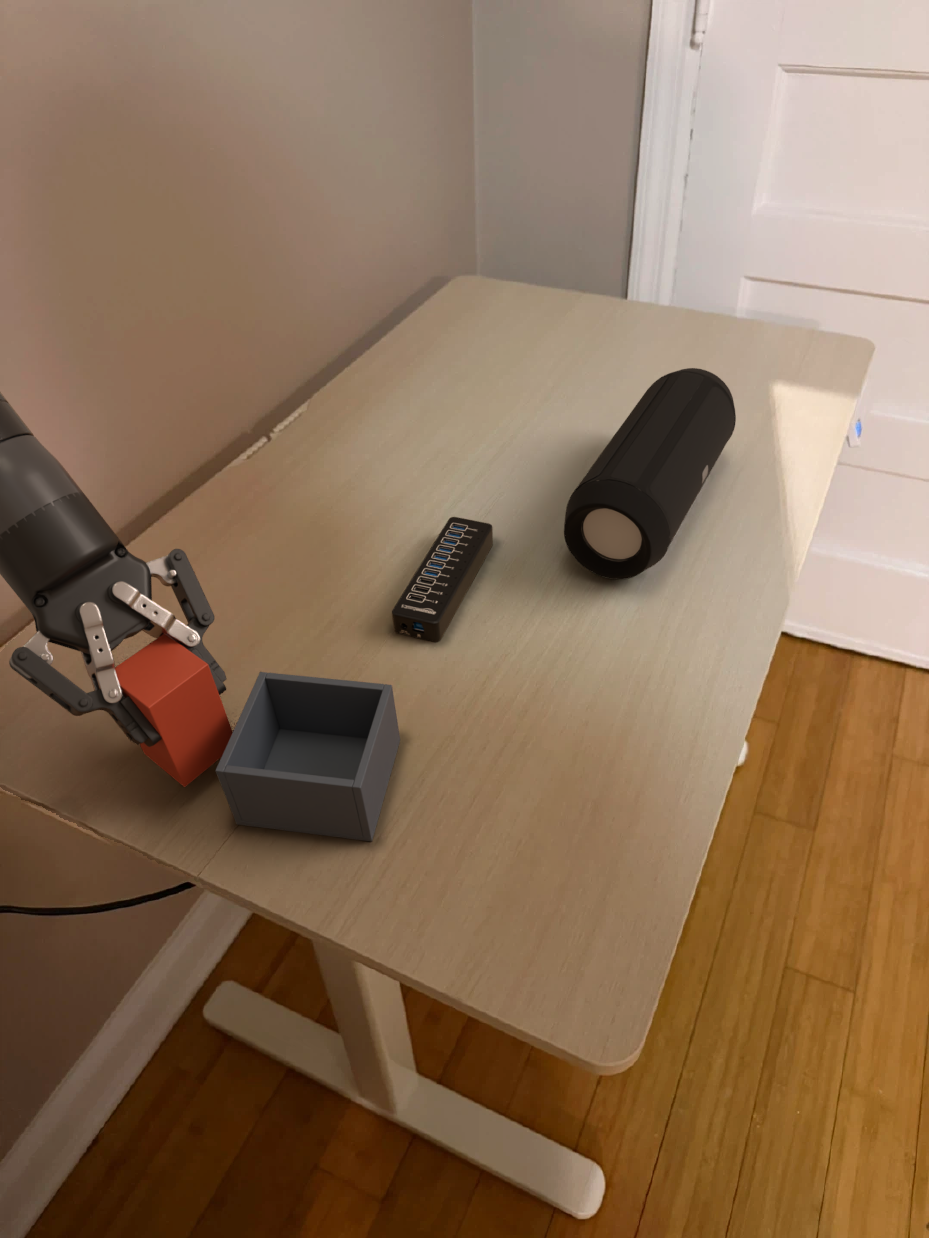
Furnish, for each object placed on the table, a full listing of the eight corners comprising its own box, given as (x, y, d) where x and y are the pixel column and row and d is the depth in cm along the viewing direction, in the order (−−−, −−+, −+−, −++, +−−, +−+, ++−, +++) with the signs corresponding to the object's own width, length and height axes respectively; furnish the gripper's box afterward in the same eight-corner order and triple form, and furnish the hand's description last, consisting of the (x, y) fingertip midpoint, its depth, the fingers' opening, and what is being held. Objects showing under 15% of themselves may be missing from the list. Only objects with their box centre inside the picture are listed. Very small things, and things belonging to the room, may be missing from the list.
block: (143, 753, 67) (104, 673, 61) (196, 713, 70) (164, 632, 64) (184, 787, 65) (148, 708, 58) (237, 744, 67) (208, 663, 61)
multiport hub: (494, 542, 87) (493, 523, 85) (438, 643, 77) (437, 624, 75) (451, 533, 88) (450, 515, 86) (392, 632, 78) (389, 612, 77)
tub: (236, 824, 65) (214, 770, 60) (276, 726, 71) (259, 671, 67) (372, 841, 63) (360, 787, 59) (400, 739, 70) (392, 684, 65)
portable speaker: (654, 601, 80) (667, 511, 73) (552, 570, 83) (555, 482, 76) (733, 455, 96) (750, 370, 89) (645, 434, 99) (654, 351, 92)
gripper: (-68, 561, 53) (112, 781, 56) (132, 451, 61) (282, 650, 63) (-70, 590, 60) (92, 787, 62) (112, 488, 67) (250, 667, 70)
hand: (188, 716), depth 63 cm, fingers closed on block, 5 cm apart
